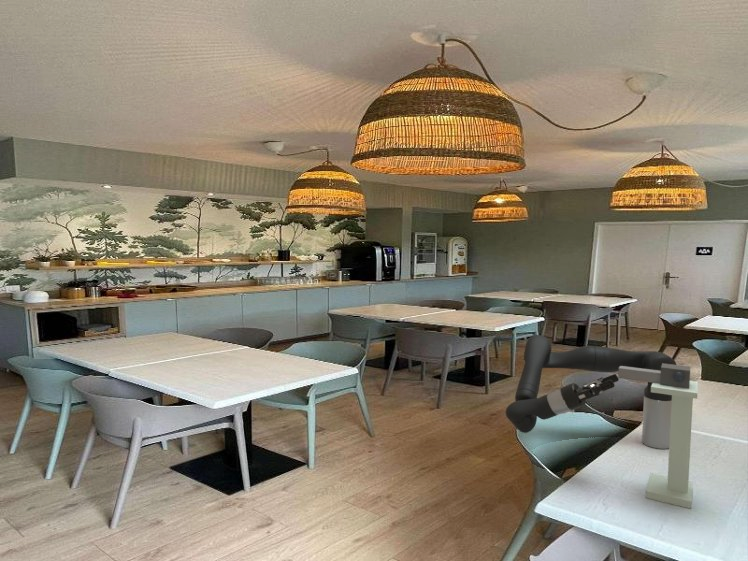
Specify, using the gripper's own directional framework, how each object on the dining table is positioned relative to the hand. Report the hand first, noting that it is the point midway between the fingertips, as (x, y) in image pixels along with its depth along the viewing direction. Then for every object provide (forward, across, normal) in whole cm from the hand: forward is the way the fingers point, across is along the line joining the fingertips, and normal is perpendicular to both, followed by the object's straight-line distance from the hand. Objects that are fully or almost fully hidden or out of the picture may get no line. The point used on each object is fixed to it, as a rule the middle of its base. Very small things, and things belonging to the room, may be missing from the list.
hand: (615, 379), depth 154 cm
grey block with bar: (+9, 0, -4) cm, 10 cm away
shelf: (-3, -1, -34) cm, 35 cm away
